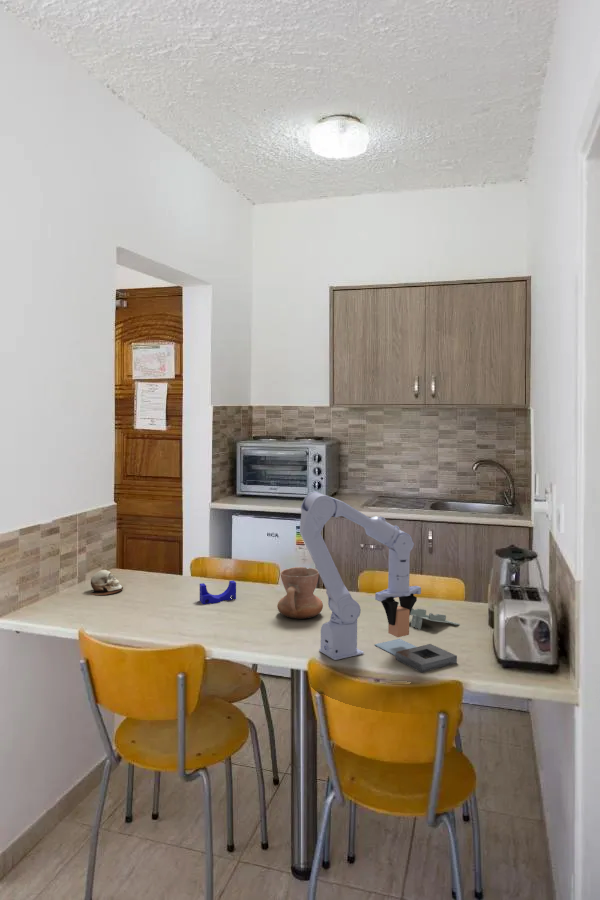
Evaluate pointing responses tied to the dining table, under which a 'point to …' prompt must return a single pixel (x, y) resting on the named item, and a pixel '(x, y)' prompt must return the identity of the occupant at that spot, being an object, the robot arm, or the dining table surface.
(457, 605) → the dining table surface
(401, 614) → the square peg
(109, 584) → the skull
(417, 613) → the metal bracket
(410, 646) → the rubber mat
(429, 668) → the socket plate
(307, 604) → the ceramic jug
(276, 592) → the dining table surface
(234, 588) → the blue curved cradle
